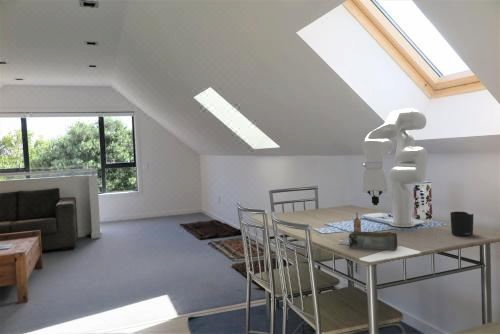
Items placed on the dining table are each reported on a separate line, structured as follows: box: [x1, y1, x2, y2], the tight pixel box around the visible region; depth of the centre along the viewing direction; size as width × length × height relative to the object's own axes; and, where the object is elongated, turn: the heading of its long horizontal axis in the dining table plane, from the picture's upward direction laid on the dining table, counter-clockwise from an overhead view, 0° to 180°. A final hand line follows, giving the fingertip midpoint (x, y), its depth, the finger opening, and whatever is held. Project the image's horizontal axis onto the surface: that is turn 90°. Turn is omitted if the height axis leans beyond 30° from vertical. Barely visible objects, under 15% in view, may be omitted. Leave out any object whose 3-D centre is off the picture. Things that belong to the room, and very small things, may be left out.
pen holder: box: [450, 211, 474, 237], centre depth 178 cm, size 9×9×10 cm
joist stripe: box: [337, 235, 349, 246], centre depth 176 cm, size 16×9×1 cm, turn 150°
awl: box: [353, 211, 362, 232], centre depth 190 cm, size 3×3×11 cm
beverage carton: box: [348, 230, 398, 251], centre depth 163 cm, size 8×19×7 cm, turn 64°
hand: (375, 204), depth 179 cm, fingers closed
